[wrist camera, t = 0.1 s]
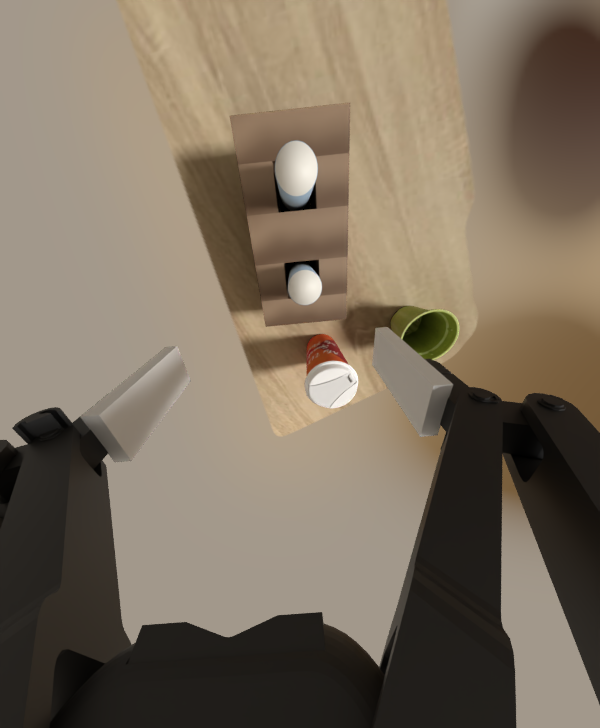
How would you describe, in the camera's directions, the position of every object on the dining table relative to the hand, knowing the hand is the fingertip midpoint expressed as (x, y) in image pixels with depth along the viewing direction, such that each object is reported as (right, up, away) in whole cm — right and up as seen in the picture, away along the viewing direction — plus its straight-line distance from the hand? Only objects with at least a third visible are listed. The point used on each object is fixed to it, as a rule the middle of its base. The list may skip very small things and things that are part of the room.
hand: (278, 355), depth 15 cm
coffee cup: (+6, +3, +31) cm, 31 cm away
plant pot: (+22, +8, +29) cm, 37 cm away
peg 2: (+2, +13, +18) cm, 22 cm away
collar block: (+1, +20, +21) cm, 29 cm away
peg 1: (+1, +21, +13) cm, 25 cm away
